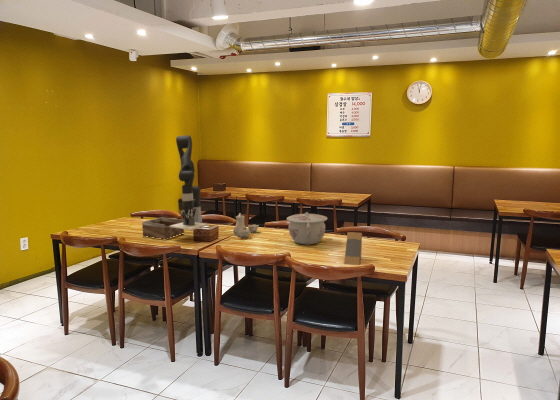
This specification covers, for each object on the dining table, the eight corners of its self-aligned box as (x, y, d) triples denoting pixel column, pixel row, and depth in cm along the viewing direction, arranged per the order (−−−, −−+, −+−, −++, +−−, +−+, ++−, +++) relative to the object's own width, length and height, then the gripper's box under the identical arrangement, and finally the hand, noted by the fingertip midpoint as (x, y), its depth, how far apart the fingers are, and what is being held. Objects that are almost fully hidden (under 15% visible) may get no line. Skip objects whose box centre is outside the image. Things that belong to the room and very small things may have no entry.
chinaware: (249, 242, 286) (250, 219, 283) (226, 238, 289) (228, 215, 286) (259, 233, 313) (261, 211, 310) (238, 230, 316) (240, 208, 313)
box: (162, 231, 315) (161, 217, 313) (184, 234, 304) (183, 219, 302) (143, 236, 298) (142, 221, 297) (165, 240, 288) (164, 224, 286)
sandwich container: (343, 264, 229) (343, 238, 226) (347, 256, 243) (347, 231, 241) (359, 265, 226) (359, 238, 224) (361, 257, 241) (362, 232, 238)
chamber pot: (302, 235, 296) (302, 207, 292) (335, 241, 278) (335, 211, 275) (277, 243, 274) (277, 213, 271) (311, 250, 257) (311, 217, 254)
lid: (186, 222, 299) (186, 214, 298) (207, 225, 289) (207, 217, 288) (169, 227, 285) (169, 218, 284) (191, 230, 275) (191, 221, 274)
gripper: (190, 197, 292) (191, 221, 295) (176, 200, 280) (177, 225, 283) (198, 198, 288) (199, 222, 291) (184, 201, 276) (185, 226, 279)
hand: (188, 223), depth 287 cm, fingers closed on lid, 3 cm apart
